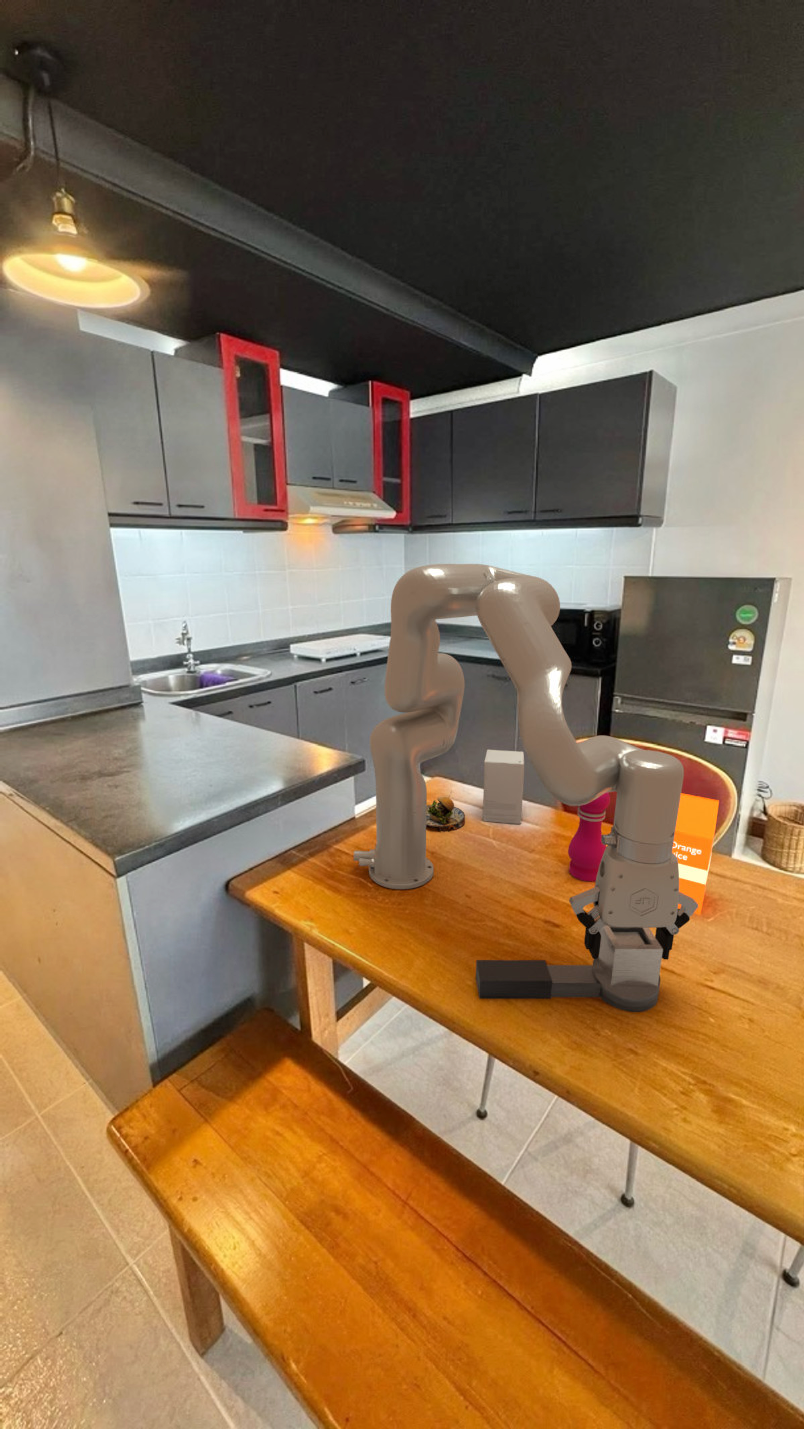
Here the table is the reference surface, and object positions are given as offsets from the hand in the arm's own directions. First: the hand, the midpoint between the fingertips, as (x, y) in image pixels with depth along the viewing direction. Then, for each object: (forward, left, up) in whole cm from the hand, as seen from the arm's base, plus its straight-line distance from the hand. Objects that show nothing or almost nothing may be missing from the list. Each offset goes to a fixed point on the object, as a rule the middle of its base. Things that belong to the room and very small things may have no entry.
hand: (626, 952), depth 81 cm
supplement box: (-8, +57, -6) cm, 58 cm away
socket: (0, 0, -3) cm, 3 cm away
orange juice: (+18, +23, -6) cm, 30 cm away
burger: (-23, +54, -6) cm, 59 cm away
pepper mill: (+4, +31, -6) cm, 32 cm away
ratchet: (-8, 0, -6) cm, 10 cm away
